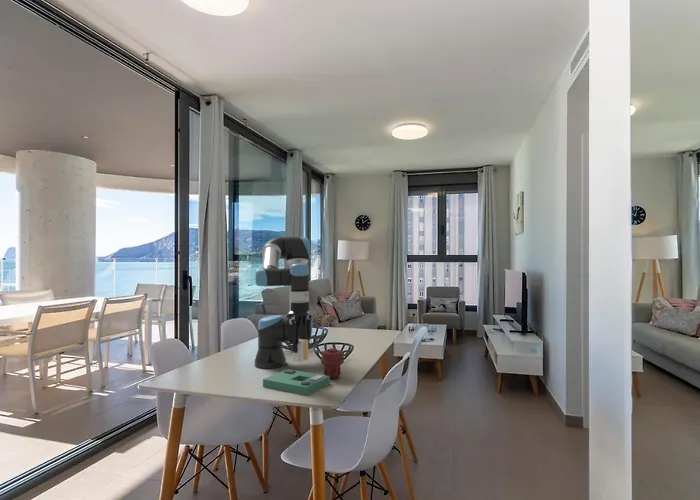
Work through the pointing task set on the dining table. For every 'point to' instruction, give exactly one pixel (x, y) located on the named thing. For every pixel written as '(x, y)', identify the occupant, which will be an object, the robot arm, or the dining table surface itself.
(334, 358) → the mechanical component
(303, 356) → the plug
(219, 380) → the dining table surface
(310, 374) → the board
